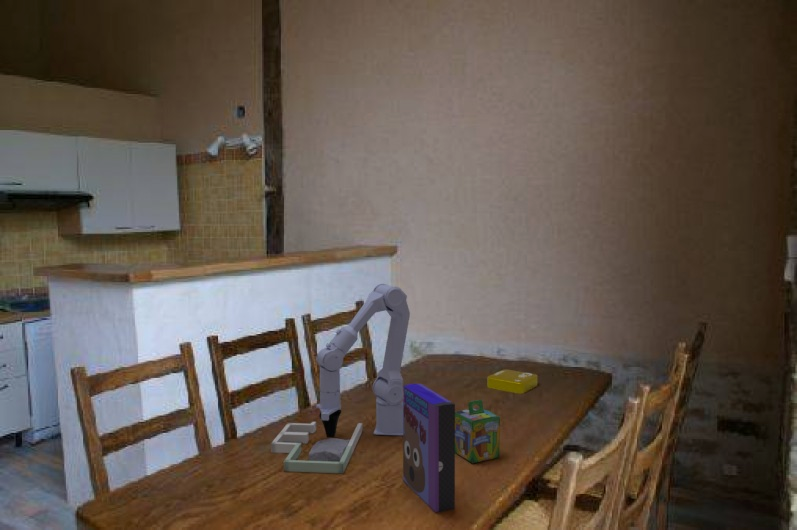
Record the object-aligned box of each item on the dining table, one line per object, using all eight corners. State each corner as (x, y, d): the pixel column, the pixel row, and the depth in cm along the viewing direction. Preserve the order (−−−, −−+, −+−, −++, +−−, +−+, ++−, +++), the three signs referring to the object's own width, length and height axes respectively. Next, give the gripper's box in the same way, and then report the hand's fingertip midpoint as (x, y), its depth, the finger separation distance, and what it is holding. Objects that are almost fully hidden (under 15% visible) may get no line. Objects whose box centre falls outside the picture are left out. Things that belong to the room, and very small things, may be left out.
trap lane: (362, 431, 181) (362, 423, 181) (343, 473, 152) (343, 463, 152) (289, 429, 184) (289, 421, 184) (257, 470, 154) (256, 460, 154)
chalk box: (472, 464, 157) (472, 409, 156) (453, 452, 165) (453, 399, 164) (501, 458, 161) (501, 403, 160) (481, 446, 169) (481, 394, 168)
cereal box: (403, 481, 148) (402, 385, 146) (420, 477, 149) (420, 382, 147) (435, 513, 132) (435, 406, 130) (454, 508, 134) (454, 403, 131)
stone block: (308, 472, 157) (345, 466, 156) (304, 455, 157) (341, 448, 156) (317, 456, 169) (352, 450, 168) (314, 439, 169) (348, 433, 168)
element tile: (503, 379, 238) (503, 367, 238) (539, 385, 229) (539, 373, 229) (485, 388, 227) (485, 375, 226) (521, 395, 218) (521, 382, 217)
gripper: (322, 382, 180) (322, 427, 181) (310, 397, 165) (311, 445, 166) (345, 383, 179) (346, 427, 180) (335, 398, 165) (336, 446, 166)
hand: (330, 436), depth 173 cm, fingers closed
